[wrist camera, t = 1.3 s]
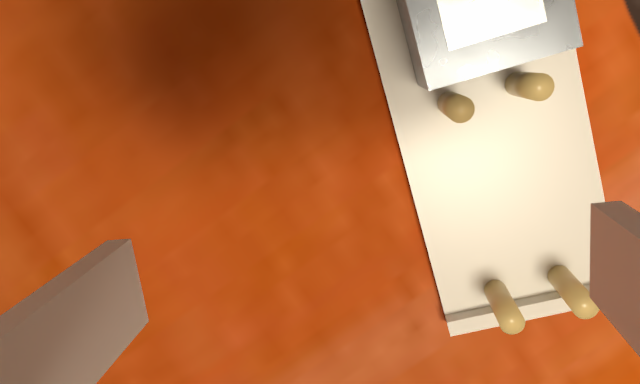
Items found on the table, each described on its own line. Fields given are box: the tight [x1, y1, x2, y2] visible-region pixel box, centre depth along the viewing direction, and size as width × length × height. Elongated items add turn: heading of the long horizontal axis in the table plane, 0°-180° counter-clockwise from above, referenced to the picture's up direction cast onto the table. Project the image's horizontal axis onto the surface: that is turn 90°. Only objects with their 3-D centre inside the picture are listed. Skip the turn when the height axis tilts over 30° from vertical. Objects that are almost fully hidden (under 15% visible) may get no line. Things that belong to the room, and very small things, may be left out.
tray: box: [360, 0, 605, 336], centre depth 29 cm, size 31×11×6 cm, turn 17°
